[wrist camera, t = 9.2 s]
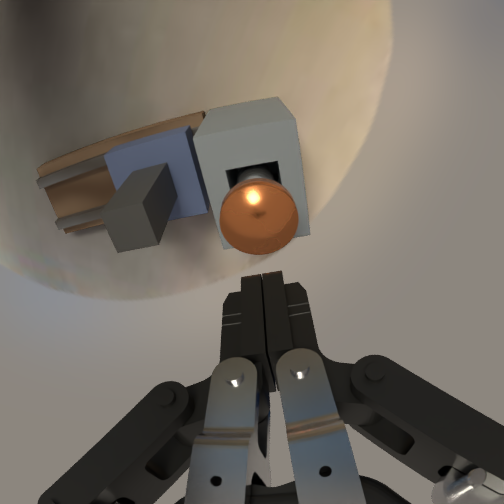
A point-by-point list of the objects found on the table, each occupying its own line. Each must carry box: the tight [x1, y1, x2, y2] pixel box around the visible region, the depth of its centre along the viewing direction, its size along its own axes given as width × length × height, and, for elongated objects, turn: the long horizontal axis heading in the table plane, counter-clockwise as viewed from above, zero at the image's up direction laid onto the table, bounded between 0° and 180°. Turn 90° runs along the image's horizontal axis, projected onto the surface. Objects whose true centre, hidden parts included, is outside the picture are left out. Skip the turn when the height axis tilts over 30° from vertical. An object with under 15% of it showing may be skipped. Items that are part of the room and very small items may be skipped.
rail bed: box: [36, 111, 205, 233], centre depth 28 cm, size 8×18×2 cm, turn 101°
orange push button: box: [219, 163, 299, 255], centre depth 19 cm, size 4×4×6 cm
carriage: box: [100, 125, 210, 253], centre depth 22 cm, size 7×7×9 cm
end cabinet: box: [193, 97, 310, 249], centre depth 24 cm, size 8×6×10 cm
